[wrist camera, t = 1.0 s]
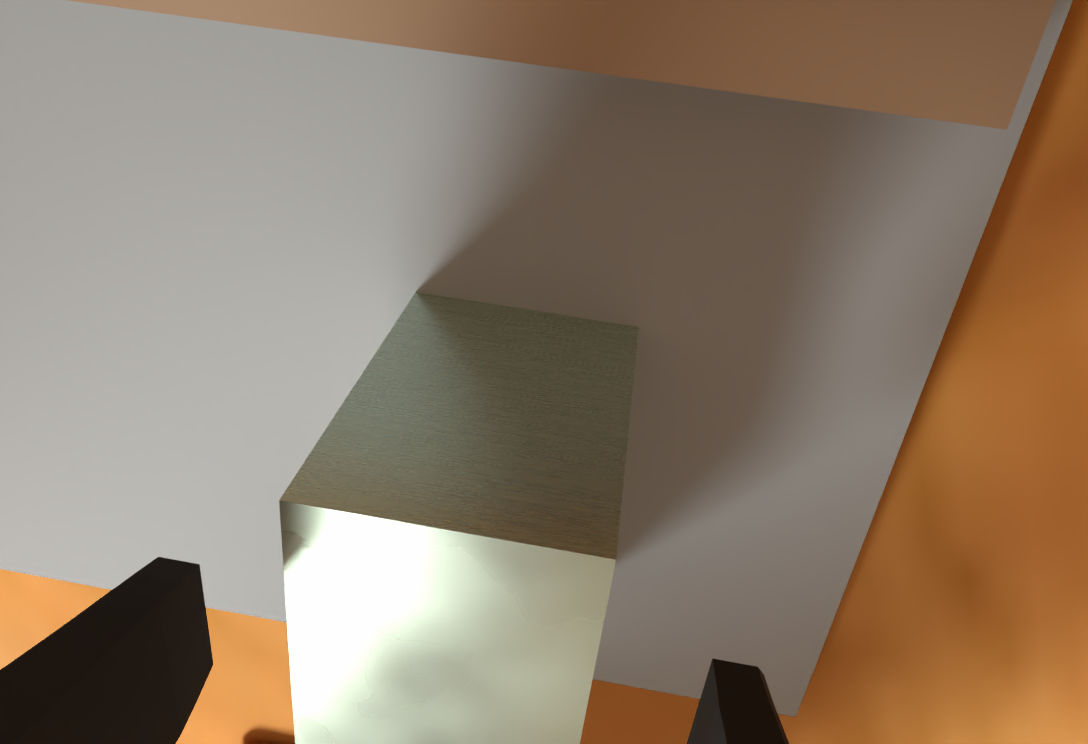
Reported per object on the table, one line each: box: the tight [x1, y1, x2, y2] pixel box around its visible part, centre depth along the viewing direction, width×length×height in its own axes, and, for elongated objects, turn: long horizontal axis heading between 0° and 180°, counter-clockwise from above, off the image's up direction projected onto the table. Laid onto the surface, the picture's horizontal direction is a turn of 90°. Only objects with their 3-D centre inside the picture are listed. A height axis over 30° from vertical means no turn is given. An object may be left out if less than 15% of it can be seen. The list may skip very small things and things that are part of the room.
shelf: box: [0, 0, 1073, 717], centre depth 16 cm, size 15×30×3 cm, turn 84°
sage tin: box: [279, 292, 639, 744], centre depth 14 cm, size 4×6×6 cm
